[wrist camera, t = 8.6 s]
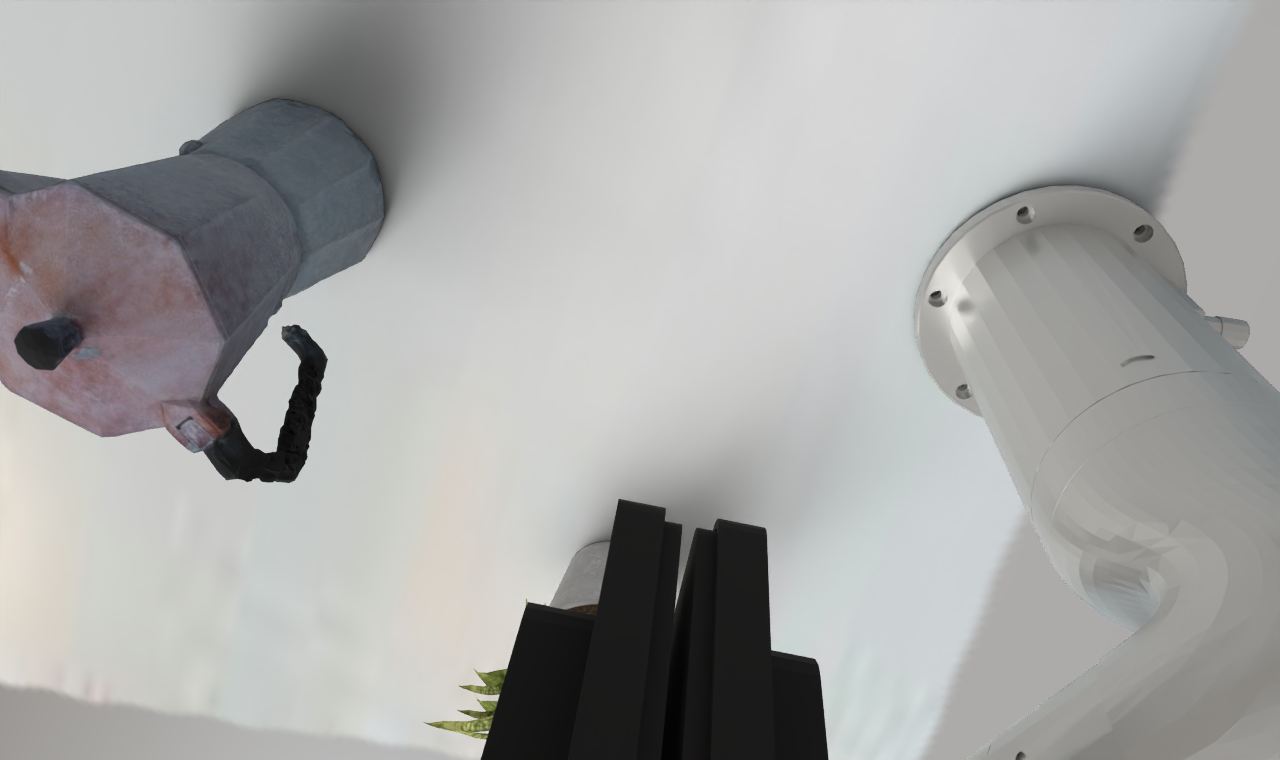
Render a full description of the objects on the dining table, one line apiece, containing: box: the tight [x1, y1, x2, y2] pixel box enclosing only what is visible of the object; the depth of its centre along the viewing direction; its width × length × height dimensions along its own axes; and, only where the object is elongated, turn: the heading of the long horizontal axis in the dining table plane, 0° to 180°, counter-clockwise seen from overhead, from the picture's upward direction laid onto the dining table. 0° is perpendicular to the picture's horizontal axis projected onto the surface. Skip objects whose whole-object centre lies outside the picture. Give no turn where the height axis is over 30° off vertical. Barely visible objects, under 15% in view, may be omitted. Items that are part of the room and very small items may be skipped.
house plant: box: [424, 541, 610, 739], centre depth 51 cm, size 14×14×16 cm
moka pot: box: [0, 99, 385, 483], centre depth 39 cm, size 10×15×20 cm, turn 42°
